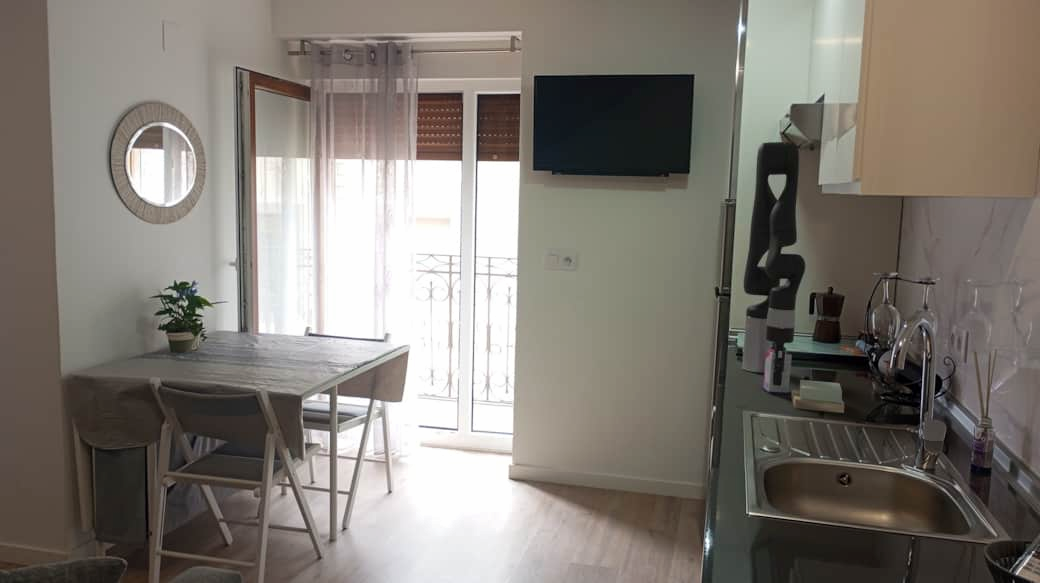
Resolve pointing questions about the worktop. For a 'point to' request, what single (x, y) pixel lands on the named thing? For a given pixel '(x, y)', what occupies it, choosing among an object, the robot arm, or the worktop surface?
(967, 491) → the worktop surface
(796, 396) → the birch slab
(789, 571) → the worktop surface
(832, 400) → the sage slab
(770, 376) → the supplement box
